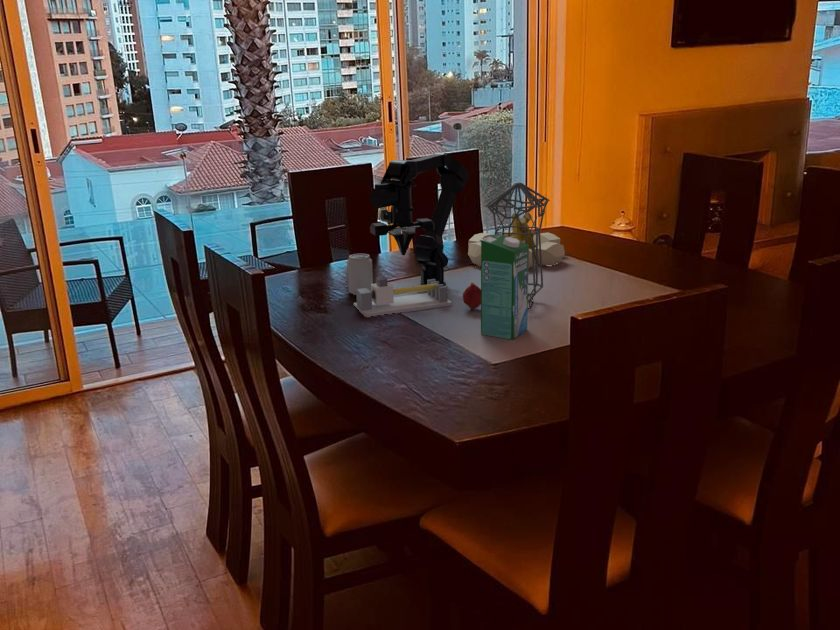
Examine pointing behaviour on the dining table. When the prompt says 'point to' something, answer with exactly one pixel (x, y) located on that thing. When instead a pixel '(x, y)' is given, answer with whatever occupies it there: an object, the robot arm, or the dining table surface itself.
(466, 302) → the onion
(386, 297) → the sleeve
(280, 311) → the dining table surface
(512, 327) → the milk carton
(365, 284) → the can
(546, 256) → the campfire
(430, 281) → the linear slider
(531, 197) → the geometric lantern
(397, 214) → the robot arm
